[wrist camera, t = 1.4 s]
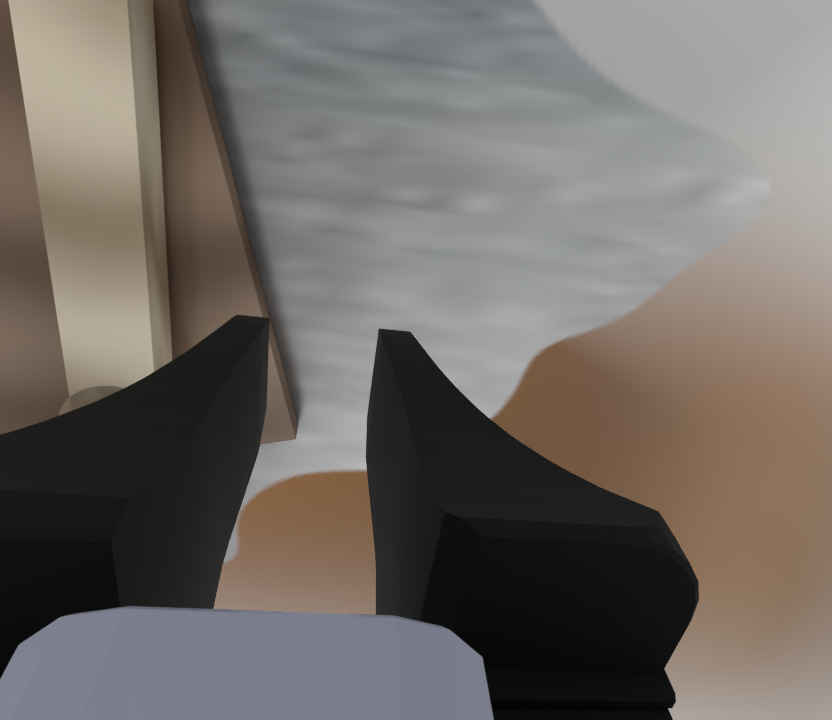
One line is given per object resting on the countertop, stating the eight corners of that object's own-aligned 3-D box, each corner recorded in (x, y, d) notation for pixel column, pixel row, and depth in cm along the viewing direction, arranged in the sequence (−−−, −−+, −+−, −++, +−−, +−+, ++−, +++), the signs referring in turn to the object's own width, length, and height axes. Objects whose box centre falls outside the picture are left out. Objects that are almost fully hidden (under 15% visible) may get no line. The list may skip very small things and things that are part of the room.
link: (190, 442, 23) (176, 478, 21) (88, 435, 22) (65, 471, 21) (173, 3, 16) (149, 3, 14) (24, -22, 15) (-20, -25, 14)
